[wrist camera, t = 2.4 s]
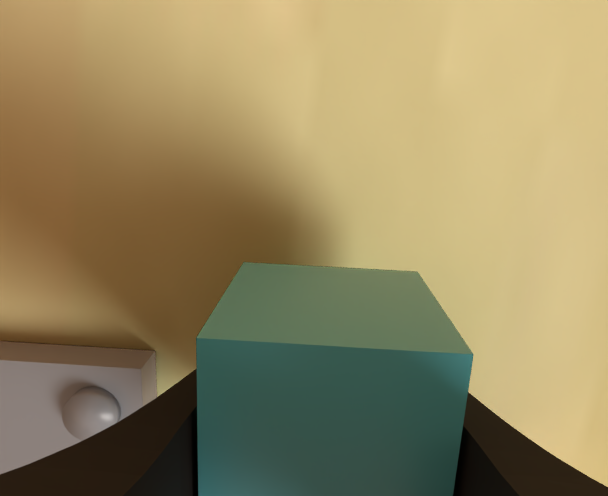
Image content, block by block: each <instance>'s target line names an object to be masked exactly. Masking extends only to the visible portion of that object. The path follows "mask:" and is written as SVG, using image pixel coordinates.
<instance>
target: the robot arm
mask: <svg viewBox="0 0 608 496" xmlns="http://www.w3.org/2000/svg"><path fill="white" fill-rule="evenodd" d="M0 496H198V434H197V369H195V370H194V371H193V372H191V373H190V374H189V375H187V376H186V377H185V378H183V379H182V380H181V381H179V382H178V383H177V384H175V385H174V386H172V387H171V388H170V389H168V390H167V391H165V392H164V393H163V394H161V395H160V396H158V397H157V398H155V399H154V400H152V401H151V402H149V403H148V404H146V405H144V406H143V407H141V408H140V409H138V410H137V411H135V412H134V413H132V414H130V415H129V416H127V417H126V418H124V419H122V420H121V421H119V422H117V423H115V424H114V425H112V426H110V427H108V428H106V429H104V430H103V431H101V432H99V433H97V434H95V435H93V436H91V437H89V438H87V439H85V440H83V441H81V442H79V443H77V444H75V445H72V446H70V447H68V448H65V449H63V450H60V451H58V452H56V453H53V454H51V455H49V456H46V457H44V458H42V459H39V460H37V461H35V462H32V463H30V464H27V465H25V466H22V467H19V468H17V469H14V470H11V471H8V472H6V473H3V474H0ZM453 496H608V487H606V486H604V485H603V484H601V483H599V482H597V481H595V480H593V479H592V478H590V477H588V476H587V475H585V474H583V473H581V472H580V471H578V470H576V469H575V468H573V467H571V466H570V465H568V464H566V463H565V462H563V461H561V460H560V459H558V458H557V457H555V456H553V455H552V454H550V453H549V452H547V451H546V450H544V449H543V448H541V447H540V446H538V445H537V444H536V443H534V442H533V441H531V440H530V439H528V438H527V437H526V436H524V435H523V434H521V433H520V432H518V431H517V430H516V429H514V428H513V427H512V426H510V425H509V424H508V423H506V422H505V421H504V420H502V419H501V418H500V417H499V416H497V415H496V414H495V413H493V412H492V411H491V410H490V409H488V408H487V407H486V406H485V405H483V404H482V403H481V402H480V401H478V400H477V399H476V398H475V397H473V396H472V395H471V394H470V393H468V395H467V402H466V409H465V416H464V423H463V429H462V436H461V443H460V450H459V457H458V464H457V471H456V478H455V485H454V491H453Z"/></svg>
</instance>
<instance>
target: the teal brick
mask: <svg viewBox="0 0 608 496" xmlns="http://www.w3.org/2000/svg"><path fill="white" fill-rule="evenodd" d="M196 357H197V434H198V496H453V491H454V485H455V478H456V471H457V464H458V457H459V450H460V443H461V436H462V429H463V423H464V416H465V409H466V402H467V395H468V388H469V381H470V374H471V368H472V361H473V353H472V352H471V350H470V349H469V347H468V346H467V344H466V343H465V341H464V340H463V338H462V337H461V335H460V334H459V332H458V331H457V329H456V328H455V326H454V325H453V323H452V322H451V321H450V319H449V318H448V316H447V315H446V313H445V312H444V310H443V309H442V307H441V306H440V304H439V303H438V301H437V300H436V298H435V297H434V295H433V294H432V292H431V291H430V289H429V288H428V287H427V285H426V284H425V282H424V281H423V279H422V278H421V276H420V275H419V273H418V272H415V271H396V270H378V269H360V268H341V267H323V266H305V265H286V264H268V263H249V262H243V264H242V266H241V267H240V269H239V270H238V272H237V274H236V275H235V277H234V278H233V280H232V282H231V283H230V285H229V286H228V288H227V290H226V291H225V293H224V294H223V296H222V298H221V299H220V301H219V302H218V304H217V306H216V307H215V309H214V310H213V312H212V314H211V315H210V317H209V318H208V320H207V322H206V323H205V325H204V326H203V328H202V330H201V331H200V333H199V334H198V336H197V337H196Z"/></svg>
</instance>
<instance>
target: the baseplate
mask: <svg viewBox="0 0 608 496" xmlns="http://www.w3.org/2000/svg"><path fill="white" fill-rule="evenodd" d="M155 398H157V386H156V359H155V351H151V350H135V349H119V348H103V347H86V346H70V345H54V344H38V343H22V342H6V341H0V474H3V473H6V472H8V471H11V470H14V469H17V468H19V467H22V466H25V465H27V464H30V463H32V462H35V461H37V460H39V459H42V458H44V457H46V456H49V455H51V454H53V453H56V452H58V451H60V450H63V449H65V448H68V447H70V446H72V445H75V444H77V443H79V442H81V441H83V440H85V439H87V438H89V437H91V436H93V435H95V434H97V433H99V432H101V431H103V430H104V429H106V428H108V427H110V426H112V425H114V424H115V423H117V422H119V421H121V420H122V419H124V418H126V417H127V416H129V415H130V414H132V413H134V412H135V411H137V410H138V409H140V408H141V407H143V406H144V405H146V404H148V403H149V402H151V401H152V400H154V399H155Z"/></svg>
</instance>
